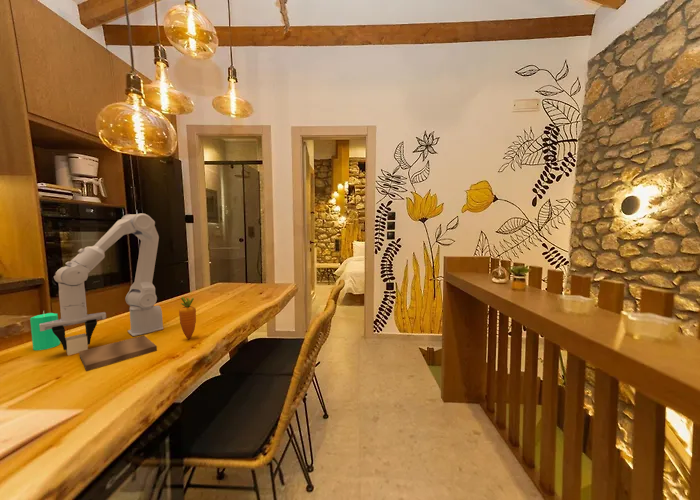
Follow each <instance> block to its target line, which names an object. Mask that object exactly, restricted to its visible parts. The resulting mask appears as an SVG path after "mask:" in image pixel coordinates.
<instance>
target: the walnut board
mask: <svg viewBox="0 0 700 500" xmlns="http://www.w3.org/2000/svg"><path fill="white" fill-rule="evenodd" d="M156 351H158V347H157V345H156V343H154V342H153V341H152V340H150V339H149V338H148V337H147V336H145V334H142V335H141V336H140V335H138V336H134V337H132V338H128V339H124V340H123V339H122V340H120V341H117V342H112V343H108V344H104V345H100V346H96V347H92V348H88V349H87V350H83V351H79V353H78V354H79V358H80V360H81V363H82V364H83V366H84V369H85V371H86V372H89V371H91V370H95V369H97V368H102V367H105V366H108V365H112V364H115V363H119V362H121V361H125V360H129V359H133V358H136V357H139V356H143V355H146V354H149V353H153V352H156Z"/></svg>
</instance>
